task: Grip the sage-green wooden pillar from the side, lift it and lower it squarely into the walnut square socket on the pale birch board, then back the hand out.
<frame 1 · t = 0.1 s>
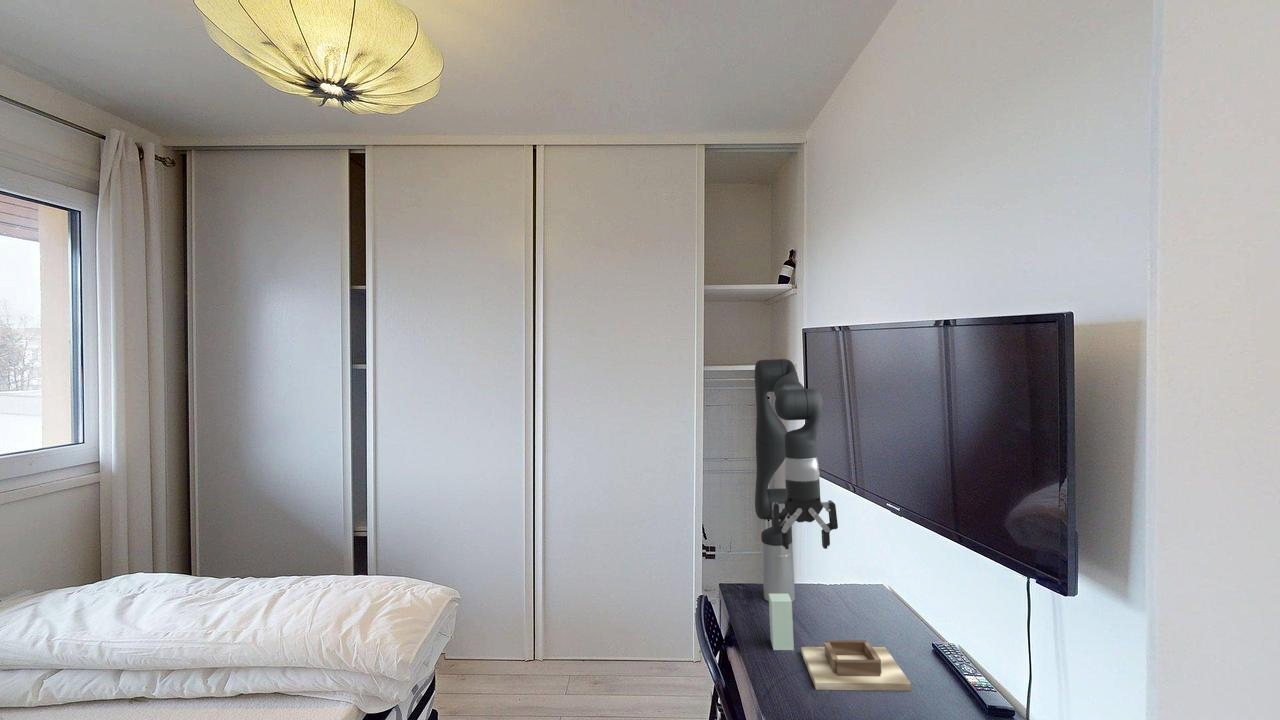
hand: (805, 548, 128), 29 cm above the table, tool pointing down, fingers open, 8 cm apart
socket board: (852, 670, 129), on the table
pillar: (782, 645, 142), on the table
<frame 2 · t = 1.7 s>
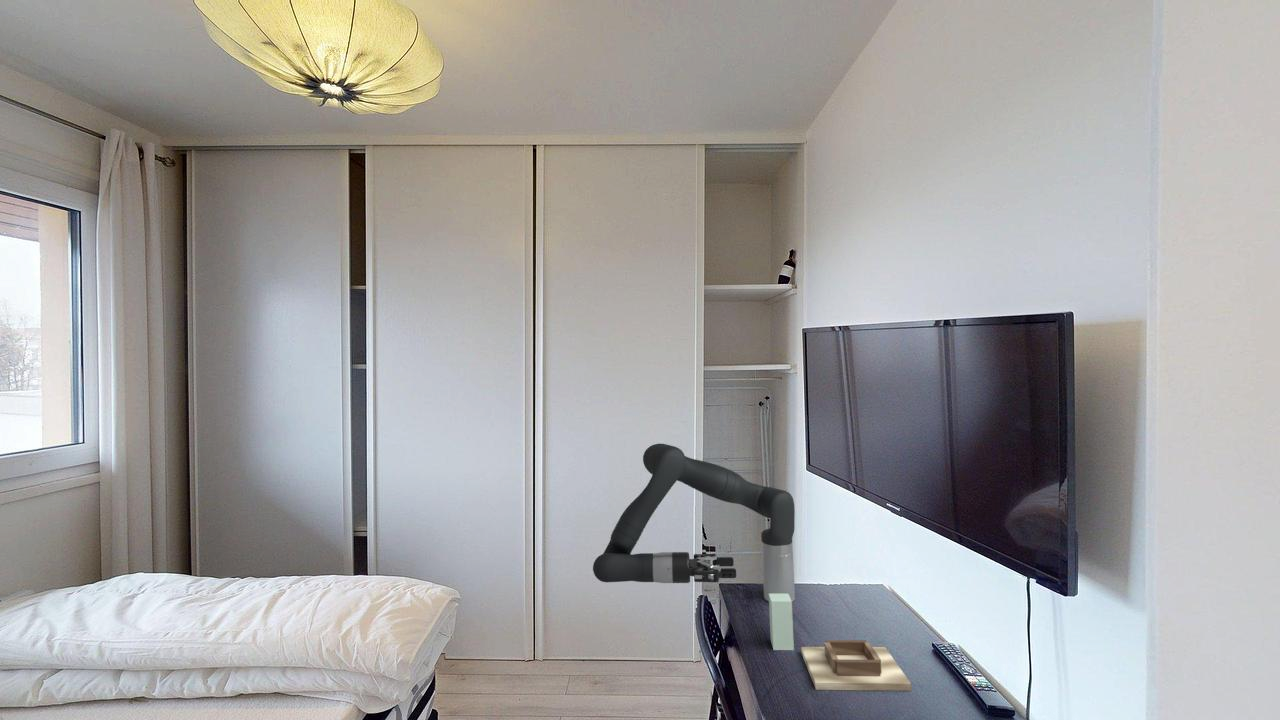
hand: (734, 567, 144), 20 cm above the table, tool horizontal, fingers open, 8 cm apart
nothing on the table moved.
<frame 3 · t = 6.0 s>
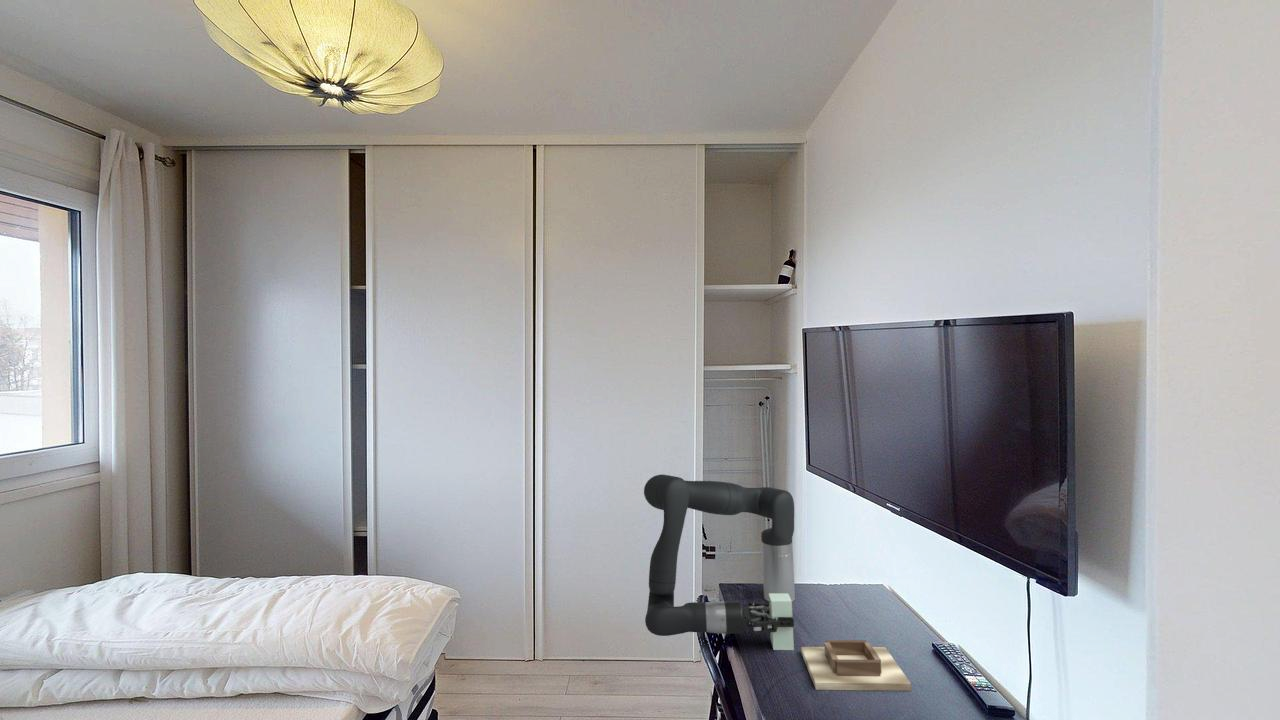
hand: (791, 617, 142), 7 cm above the table, tool horizontal, fingers closed on pillar, 5 cm apart
pillar: (782, 645, 142), on the table, touching gripper
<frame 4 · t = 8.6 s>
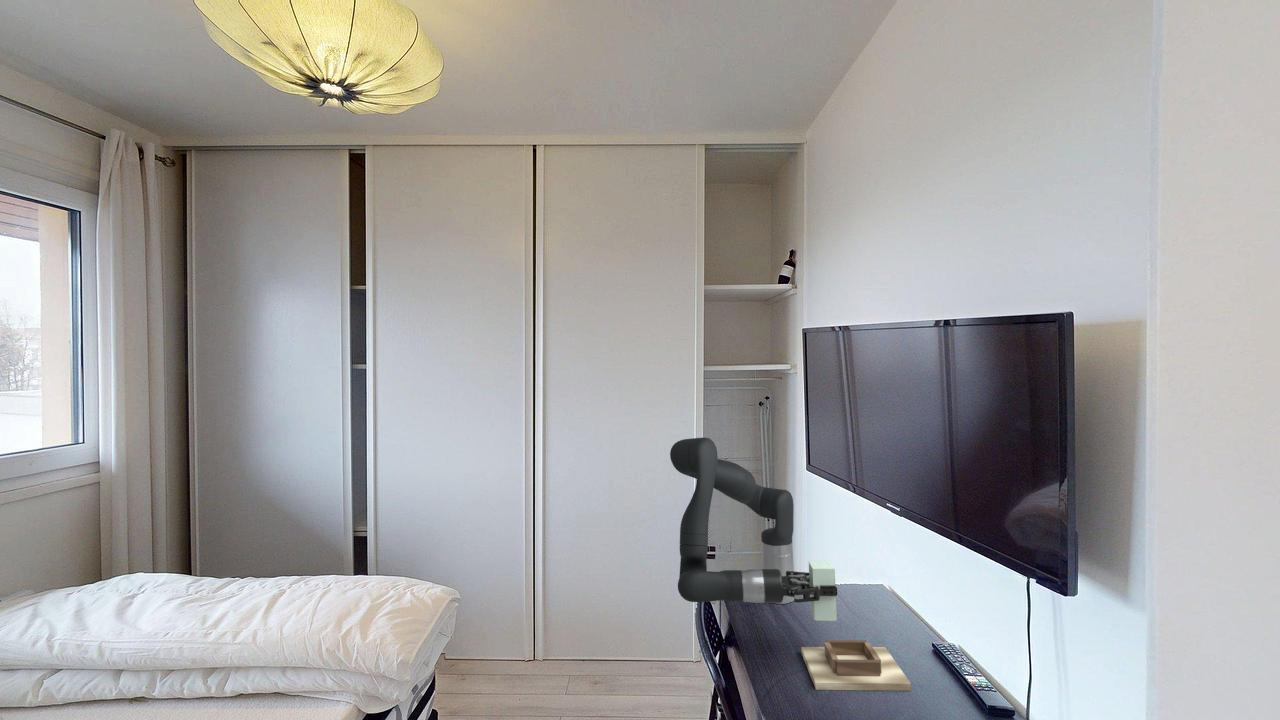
hand: (833, 586, 133), 18 cm above the table, tool horizontal, fingers closed on pillar, 5 cm apart
pillar: (823, 616, 134), point 11 cm above the table, touching gripper
when the fingers open (10 cm above the table, at t = 11.0 s): pillar drops 1 cm, resting on socket board.
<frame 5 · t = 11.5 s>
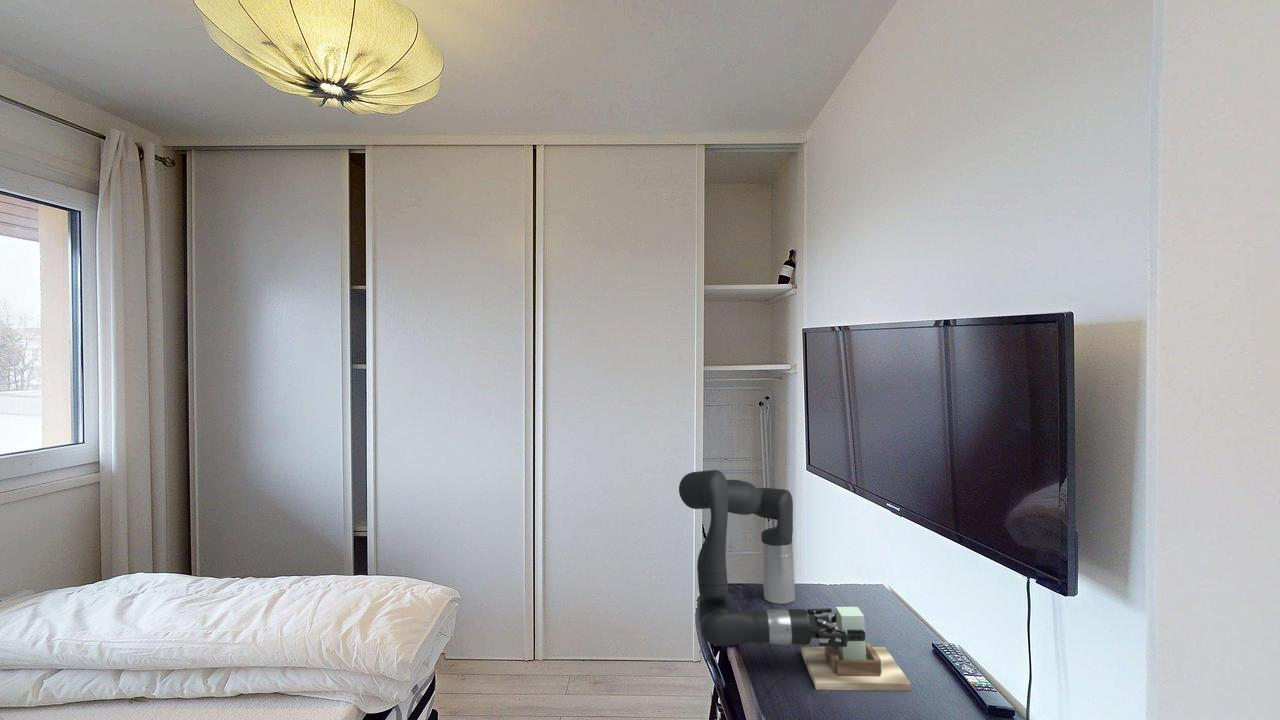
hand: (859, 626, 129), 10 cm above the table, tool horizontal, fingers open, 8 cm apart
pillar: (852, 664, 129), point 1 cm above the table, touching socket board
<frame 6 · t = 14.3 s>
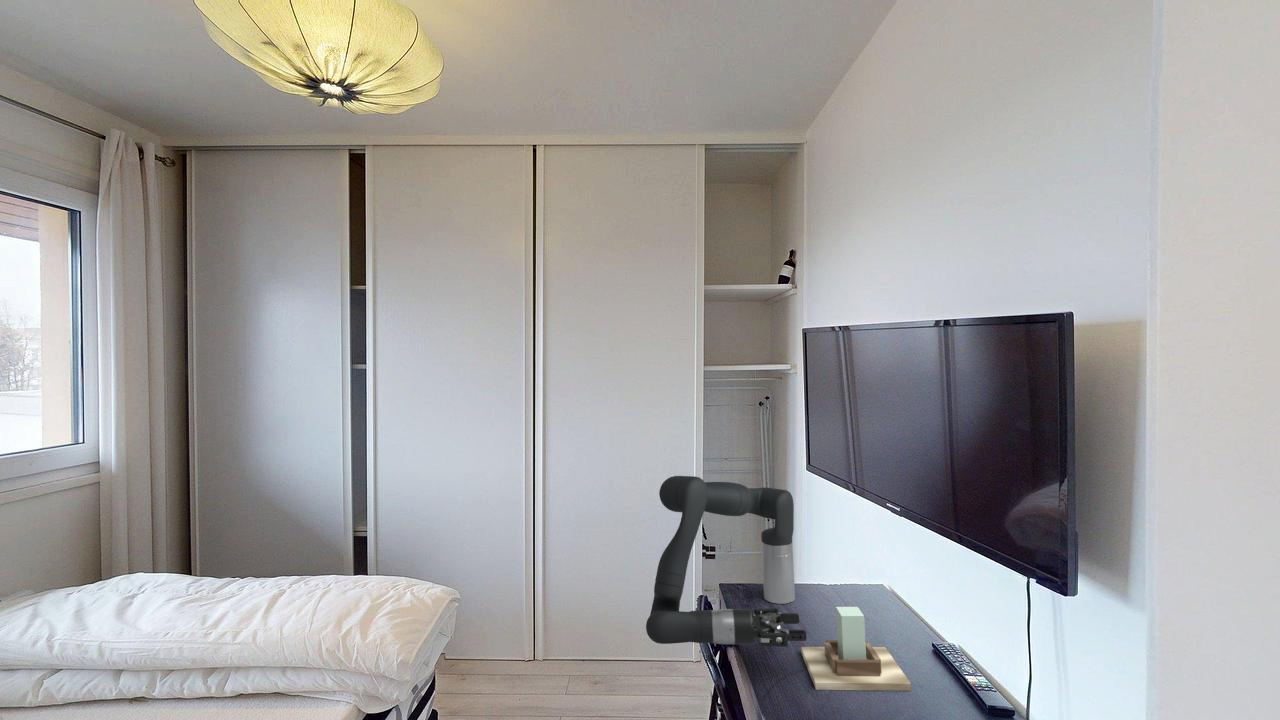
hand: (802, 626, 130), 10 cm above the table, tool horizontal, fingers open, 8 cm apart
nothing on the table moved.
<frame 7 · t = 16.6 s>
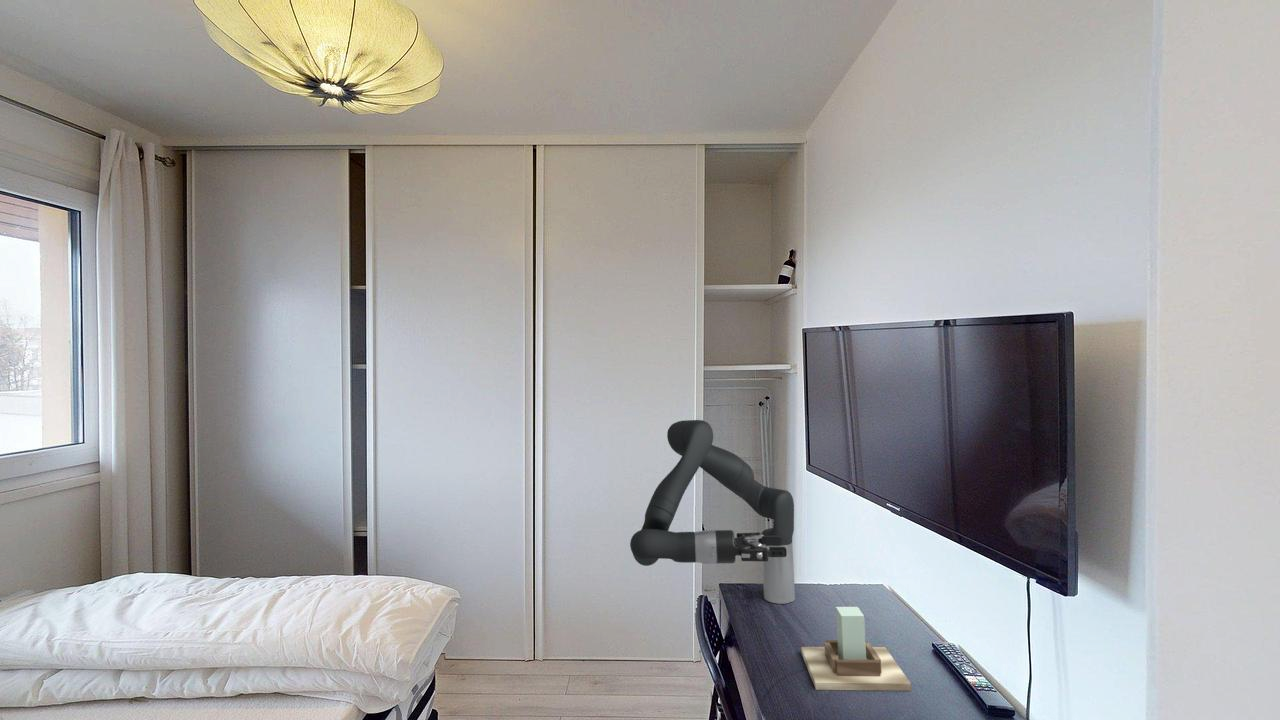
hand: (783, 545, 133), 28 cm above the table, tool horizontal, fingers open, 8 cm apart
nothing on the table moved.
at the end: pillar 0.0 cm off-centre on the socket board, point 1.5 cm above the socket board's base; pillar tilted 0°; the gripper is holding nothing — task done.
